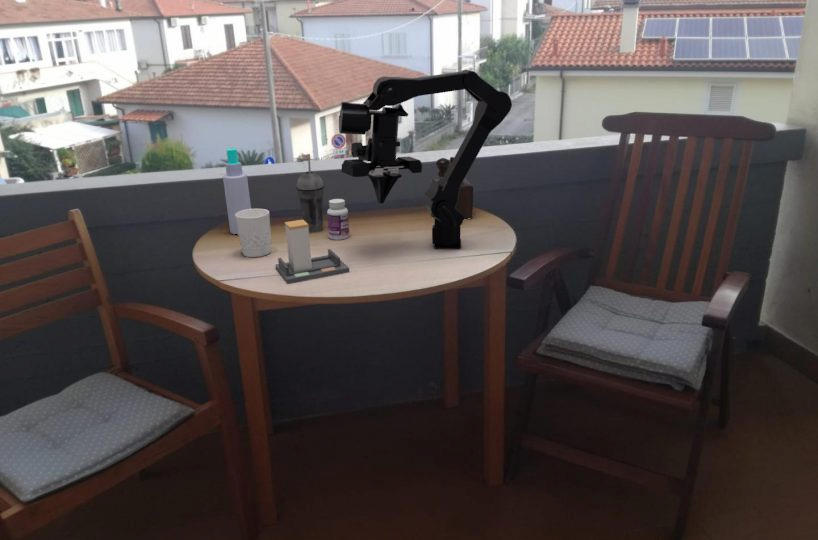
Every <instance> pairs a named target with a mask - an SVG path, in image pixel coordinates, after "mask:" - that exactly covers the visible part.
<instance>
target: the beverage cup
mask: <svg viewBox="0 0 818 540" xmlns="http://www.w3.org/2000/svg"><path fill="white" fill-rule="evenodd" d="M307 160H308V162H307V164H308V165H307V166H308V171H306V172H304V173H302V174H301V175H300V176H299V177H298V179H297V182H296V188H295V190H296V191H297V195H298V199H299V203H300V210H301V215H302V220H304V221H305V222H306V223H307V224H308V225H309V227H308V228H309V233H317V232H320V231H323V225H324V224H323V223H324V221H323V219H324V216H323V215H324V209H323V208H324V204H323V203H324V191H325V185H324V181H323V179H322V177H321V176H320V175H319V174H317V173H316V172H314V171H311V154H310V153H309V154H307Z"/></svg>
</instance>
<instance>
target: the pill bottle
mask: <svg viewBox="0 0 818 540" xmlns="http://www.w3.org/2000/svg"><path fill="white" fill-rule="evenodd" d="M328 206H329V208H328V209H327V211H326V216H327V229H328V231H327V233H328V237H329V239H331V240H335V241H340V240H342V241H343V240H345V239H348V238H349V237H350V224H349V223H350V221H349V210H348V208H347V207H345V206H346V201H345V199H343V198H333V199H329V200H328Z"/></svg>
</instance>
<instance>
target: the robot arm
mask: <svg viewBox="0 0 818 540" xmlns="http://www.w3.org/2000/svg"><path fill="white" fill-rule="evenodd" d="M461 90H463V91H464V90H465V91H466V92H467V93H468V94H469V95H470V96H471V97H472V98H473V99H474V100H475V101H477V103H476V105H475V106H476V107H475V111H474V116H473V122H472V124H471V126H470V128H469V130H468V131H467V134H466V135H465V137H464V139H463V141H462V142H461V144H460V146H459V148H458V150H457V152H456V153H455V155H454V156H453V157H454V159H453V161H452V163H451V164H450V166H449V168H448V170H447V172H446V174H445V175H444V177H443V178H442V177H441V178H442V179H440V178H439V179H440V180H439V181H438V182H436V181H435V179H431V180H432V182H431V181H430V184H429V187H428V188H427V190H426V191H425V192H424V195H425V198H424V204H425V207H426V209H428V211H429V212H430V214H431V213H432V214H433V215H434V217H436V218H437V219H435V218H434V217H433V218H434V224H433V225H432V227H431V243H432V245H433V249H435V250H437V249H438V250H457V249H458V250H460V249H462V239H461V226H462V225H463V222H464V221H465V220H464V216H463V215H462V214H461V213H460V212H459V211H458V210H457V209H456V208H455V207H456V204H457V201H458V197H459V191H460V186H461V184H462V182H463V180H464V179H465V178H466V177H467V175H468V174H469V171H470V170H471V168H472V166H473V164H474V162H475V161H476V160H477V157H478V155H479V153H480V151H481V150H482V148H483V146H484V145H485V143H486V140H487V139H488V137H489V135H490V134H491V133H492V131H494V130H495V129H496V128H497V127H498V126H499V125H500V124H501V123H502V122H503V121H504V120H505V118H506V117H507V116H508V115H509V113H510V112H511V109H512V106H513V104H512V99H511V97H510V95H509V94H508V93H506V92H504V91H501V90H497V89H496V88H495V87H493V86H492V85H491V84H489V83H488V82H487V81H485V79H483V78H482V77H481V76H480V75H479V74H478V73H477V72H476V71H474V70H470V69H463V70H461V71H456V72H448V73H441V74H435V75H428V76H427V75H426V76H420V77H414V78H412V77H401V76H381V77H379V78H377V79H376V80H375V82H374V84H373V86H372V92H371V93H370V94H369V95H368V96H367V98H366V99H365V100H364V101H363V103H358V102H357V103H353V102H348V101H341V102H340V110H339V115H338V132H339V135H340V134H341V135H342V134H343V135H345V134H346V135H366V134H367V133H366V132H369V131H370V130H371V129H372V131H371V137H369V138H368V141H367V144H365V145H363V143H362V142H353V143H351V150H350V152H351V157H352V158H356V159H352V158H351V159H344V160H343V162H342V163H341V173H343V174H346V175H348V176H350V177H352V178H361V177H363V178H365V177H368V178H369V180H370V182H371V184H372V187H373V189H374V190H373V191H374V193H375V196H376V200H377V203H378V204H384V203H385V200H386V199H387V198H388V197H389V194H390V192H391V190H392V188H393V187H394V185H395V184H396V183H397V181H398V180H399V179H400V178H402V176H403V175H402V174H400V171H399V170H408V171H409V172H410V173H411V174H420V173H422V172H423V164H422V162H421V160H420V159H418V158H415V157H412V156H398V157H397V151H398V150H397V149H398V147H401V141H398V135H399V134H398V132H399V118H400V117H408V116H409V113H408V112H407V111H406V110H405V109H404V107H403V105H402V104H403V103H405V102H408V101H410V100H412V99H414V98H417V97H421V96H428V95H434V94H442V93H448V92H455V91H461ZM401 103H402V104H401ZM396 105H397V106H396ZM393 106H395V107H393ZM381 109H382V110H381Z"/></svg>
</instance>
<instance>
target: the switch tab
mask: <svg viewBox="0 0 818 540" xmlns="http://www.w3.org/2000/svg"><path fill="white" fill-rule="evenodd" d="M284 227H285V236H286V245H287V248H286V249H287V255H288V256H287V257H288V262H289V266H290V267H291V269H292V270H293V271H294V272H297V271H302V270H307V269H312V263H311V258H312V255H311V254H312V252H311V243H310V242H311V241H310V232H309V228H308V227H309V225H308V224H307V223H306V222H305V221H304V220H303V219H296V220H292V221H291V220H290V221H285V222H284Z"/></svg>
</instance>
